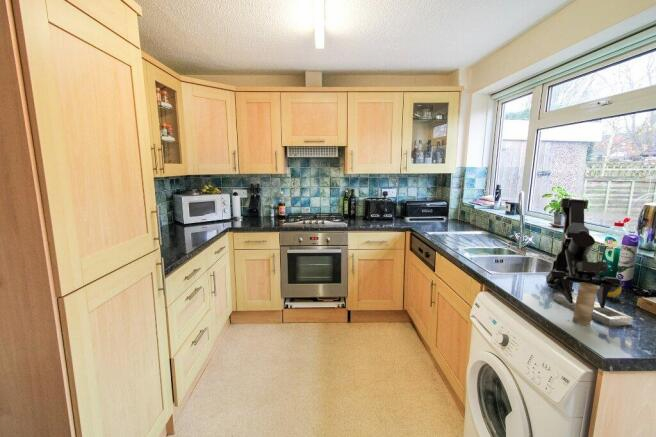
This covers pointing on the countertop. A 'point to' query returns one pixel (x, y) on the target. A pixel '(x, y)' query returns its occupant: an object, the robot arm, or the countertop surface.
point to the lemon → (614, 292)
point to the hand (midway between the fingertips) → (587, 305)
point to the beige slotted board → (598, 311)
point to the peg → (585, 303)
